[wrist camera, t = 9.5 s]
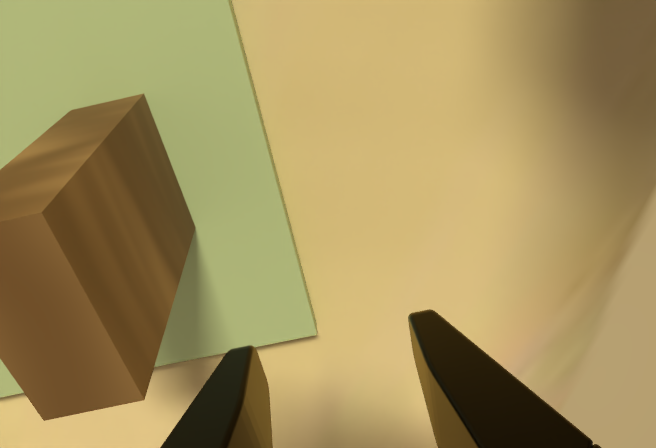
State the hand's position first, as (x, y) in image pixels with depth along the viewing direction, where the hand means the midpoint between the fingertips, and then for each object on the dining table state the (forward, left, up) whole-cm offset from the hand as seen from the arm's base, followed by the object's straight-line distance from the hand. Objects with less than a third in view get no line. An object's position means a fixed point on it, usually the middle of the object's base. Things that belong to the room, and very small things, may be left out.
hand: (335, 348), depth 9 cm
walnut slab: (+6, 0, -10) cm, 12 cm away
